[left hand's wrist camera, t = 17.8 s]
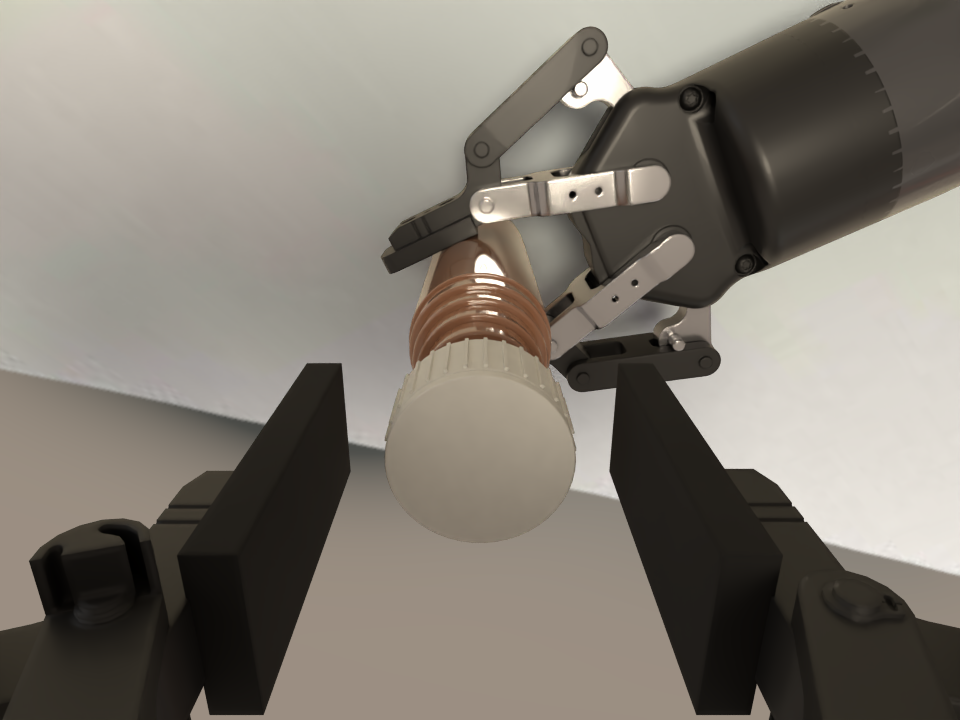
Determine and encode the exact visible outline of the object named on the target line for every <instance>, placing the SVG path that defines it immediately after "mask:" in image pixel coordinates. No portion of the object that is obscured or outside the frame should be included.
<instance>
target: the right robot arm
mask: <svg viewBox="0 0 960 720" xmlns="http://www.w3.org/2000/svg"><path fill="white" fill-rule="evenodd" d="M607 50H608V41H607V38H606V36H605V34H604V33H603V32H602V31H601V30H600V29H598V28H596V27H586V28H583V29H581V30H580V31H578V32H577V33H576V34H575V35H573V36H572V37H571V38H570V39H568V40H567V41H566V42H565V43H564V44H563V45H562V46H561V47H560V48H559V49H558V50H557V51H556V52H555V53H554V54H553V55H552V56H551V57H550V58H549V59H548V60H547V61H546V62H545V63H544V64H543V65H541V66H540V67H539V68H538V69H537V70H536V71H535V72H534V73H533V74H532V75H531V76H530V77H529V78H528V79H527V80H526V81H525V82H524V83H523V84H522V85H521V86H520V87H519V88H518V89H517V90H516V91H515V92H513V93H512V94H511V95H510V96H509V97H508V98H507V99H506V100H505V101H504V102H503V103H502V104H501V105H500V106H499V107H498V108H497V109H496V110H495V111H494V112H493V113H492V114H491V115H490V116H489V117H488V118H487V119H486V120H484V121H483V122H482V123H481V124H480V125H479V126H478V127H477V128H476V129H475V130H474V131H473V132H472V133H471V134H470V135H469V137H468V138H467V140H466V143H465V147H464V152H465V159H466V170H467V184H466V186H465V188H464V189H463V191H462V192H461V193H459V194H458V195H456V196H454V197H452V198H450V199H448V200H446V201H444V202H442V203H440V204H438V205H435V206H433V207H431V208H429V209H427V210H425V211H423V212H421V213H419V214H417V215H415V216H413V217H411V218H409V219H407V220H404V221H402V222H401V224H400V225H399V226H398V227H397V228H396V229H395V230H394V231H393V233H392V234H391V236H390V237H389V238H388V239H389V241H390V242H391V244H392V246H391V247H389V248H388V249H386V250H385V252H384V253H383V255H382V256H381V259H382V261H383V262H384V264H385V266H386V268H387V270H388V272H389V274H392V273H395V272H398V271H400V270H402V269H404V268H406V267H408V266H411V265H413V264H415V263H417V262H419V261H421V260H423V259H425V258H428V257H430V256H432V255H434V254H436V253H438V252H440V251H442V250H444V249H447V248H449V247H451V246H452V245H454V244H456V243H459V242H461V241H464V240H466V239H468V238H470V237H472V236H474V235H476V234H478V226H480V225H482V224H484V223H490V222H497V221H504V220H510V219H517V218H524V217H531V216H553V215H560V214H568V217H569V219H570V220H571V222H572V223H573V224H574V225H575V227H576V228H577V229H578V231H579V232H580V233H581V235H582V238H583V246H584V254H585V257H586V260H587V262H588V265H589V267H588V268H587V269H586V270H585V271H584V272H582V273H581V274H580V275H579V276H578V277H576V278H575V279H574V280H573V281H572V282H571V283H570V285H569V286H568V288H567V290H566V291H565V292H564V293H563V294H561V295H560V296H559V297H558V298H557V299H555V300H554V301H553V302H552V303H551V304H549V305H548V306H547V307H546V308H545V311H546V314H547V317H548V320H549V325H550V329H551V358H550V363H549V364H551V365H553V366H554V367H555V368H556V369H557V370H558V371H559V372H560V373H561V374H562V375H563V376H564V377H565V378H566V379H567V380H568V383H569V385H570V387H571V388H572V389H574V390H575V391H578V392H587V391H595V390H603V389H610V388H616V387H617V375H618V363H653V364H654V366H655V367H656V369H657V370H658V372H659V373H660V375H661V376H662V378H663V379H664V380H665V381H672V380H679V379H687V378H694V377H702V376H708V375H711V374H713V373H714V372H715V371H716V370H717V369H718V368H719V366H720V362H721V358H720V355H719V353H718V352H717V351H716V350H715V349H714V347H713V346H712V344H711V306H710V305H712V304H714V303H715V302H717V301H718V300H719V299H720V298H721V297H722V296H723V295H724V294H725V292H726V291H727V290H728V289H729V288H730V287H731V286H732V285H733V284H735V283H736V282H737V281H739V280H740V279H742V278H744V277H746V276H749V275H752V274H755V273H758V272H761V271H764V270H767V269H769V268H772V267H774V266H776V265H779V264H781V263H783V262H786V261H788V260H790V259H793V258H795V257H797V256H800V255H802V254H804V253H807V252H809V251H811V250H814V249H816V248H818V247H821V246H823V245H825V244H828V243H830V242H832V241H835V240H837V239H839V238H841V237H844V236H846V235H848V234H851V233H853V232H855V231H858V230H860V229H862V228H865V227H867V226H869V225H872V224H874V223H876V222H879V221H881V220H883V219H885V218H888V217H890V216H892V215H895V214H897V213H899V212H902V211H904V210H906V209H909V208H911V207H913V206H916V205H918V204H920V203H923V202H925V201H927V200H930V199H932V198H934V197H936V196H939V195H941V194H943V193H945V192H947V191H949V190H952V189H954V188H956V187H958V186H960V0H846V1H844V2H843V1H841V2H838V3H833V4H830V5H828V6H826V7H824V8H822V9H820V10H819V11H817V12H816V13H814V14H813V15H811V17H810V18H809V19H807V20H805V21H802V22H800V23H798V24H796V25H794V26H792V27H790V28H788V29H786V30H784V31H782V32H780V33H778V34H776V35H774V36H772V37H770V38H768V39H766V40H763V41H761V42H759V43H757V44H755V45H753V46H751V47H749V48H747V49H745V50H743V51H741V52H739V53H737V54H735V55H733V56H731V57H729V58H727V59H724V60H722V61H720V62H718V63H716V64H714V65H712V66H710V67H708V68H706V69H704V70H702V71H700V72H698V73H696V74H694V75H692V76H690V77H687V78H685V79H683V80H681V81H679V82H677V83H675V84H672V85H670V86H667V87H663V88H653V87H640V88H633V87H632V85H631V84H630V83H629V81H628V80H627V79H626V77H625V76H624V75H623V73H622V72H621V71H620V70H619V68H618V67H617V66H616V64H615V63H614V62H613V60H612V59H611V58H610V56H609V55H608V54H607ZM559 101H561V103H562V104H563V105H565V106H566V107H568V108H583V107H585V106H586V105H588V104H589V103H591V102H593V101H601V102H603V103H604V104H606V105H607V106H608V108H607V110H606V112H605V114H604V115H603V117H602V119H601V120H600V122H599V124H598V126H597V127H596V129H595V131H594V133H593V134H592V136H591V138H590V139H589V141H588V143H587V145H586V146H585V148H584V150H583V152H582V153H581V155H580V157H579V158H578V160H577V162H576V164H575V165H574V166H573V167H566V168H560V169H553V170H547V171H540V172H535V173H531V174H528V175H523V176H516V177H510V178H503V179H501V171H500V158H499V157H501V156H502V155H503V154H504V153H505V152H506V151H507V150H508V149H509V148H510V147H511V146H512V145H513V144H514V143H515V142H517V141H518V140H519V139H520V138H521V137H522V136H523V135H524V134H525V133H526V132H527V131H528V130H529V129H530V128H531V127H532V126H534V125H535V124H536V123H537V122H538V121H539V120H540V119H541V118H542V117H543V116H544V115H545V114H546V113H547V112H548V111H550V110H551V109H552V108H553V107H554V106H555V105H556V104H557V103H558V102H559ZM613 296H616V297H615V298H612V297H613ZM639 299H642V300H647V301H653V302H658V303H664V304H669V305H674V306H680V307H679V309H678V311H677V312H676V314H674V315H673V316H672V317H670V318H666V319H663V320H661V321H660V322H658V323H657V324H656V326H655V328H654V330H653V332H652V333H645V334H637V335H630V336H622V337H615V338H608V339H600V340H593V341H585V342H579V341H581V340H582V339H583V338H584V337H586V336H587V335H588V334H589V333H591V332H592V331H593V330H596V329H601V328H603V327H605V326H607V325H608V324H609V323H610V322H612V321H613V320H614V319H615V318H617V317H618V316H619V315H620V314H622V313H623V312H624V311H625V310H627V309H628V308H629V307H630V306H632V305H633V304H634V303H635V302H637V301H638V300H639Z"/></svg>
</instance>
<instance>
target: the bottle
mask: <svg viewBox="0 0 960 720" xmlns="http://www.w3.org/2000/svg"><path fill="white" fill-rule="evenodd" d="M484 337H487V339H488V340H495V341H501V342H502V340H505V341H506V343H508V344H511V345H513V346H516V347H518V348H519V347H520V346H521V347H523V349H524V351H526V352H527V353H529V354H531V355H532V356H533V357H535V356H537V357H538V358H539V362H540V363H541V364H542V365H543V366H544V367H545V368H546V369H547V368H548V367H549V363H550V358H551V329H550V325H549V320H548V317H547V314H546V311H545V308H544V305H543V302H542V299H541V296H540V292H539V289H538V286H537V283H536V280H535V277H534V274H533V271H532V268H531V264H530V261H529V258H528V255H527V252H526V249H525V246H524V243H523V240H522V237H521V235H520V233H519V231H518V229H517V228H516V226H515V225H514V224H513V223H512V222H511V221H510V220H504V221H497V222H490V223H484V224H482V225H480V226H478V234H476V235H474V236H472V237H470V238H468V239H466V240H464V241H461V242H459V243H456V244H454V245H452V246H451V247H449V248H447V249H444V250H442V251H440V252H438V253H436V254H434V255H433V257H432V260H431V263H430V266H429V269H428V272H427V275H426V278H425V282H424V285H423V288H422V291H421V294H420V297H419V300H418V303H417V306H416V309H415V313H414V316H413V319H412V322H411V326H410V333H409V354H410V361H411V365H412V369H414V368H415V366H416V362H418V361H420V362H421V361H422V360H423V359H424V358H426V357H427V356H429V355H430V351H432V350H434V351H436V350H438V349H440V348H442V347H444V346H446V345H447V343H449V342H450V343H451V344H452V343H456V342H460V341H465V338H469V340H474V339H484Z"/></svg>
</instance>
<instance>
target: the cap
mask: <svg viewBox="0 0 960 720" xmlns="http://www.w3.org/2000/svg"><path fill="white" fill-rule="evenodd" d="M572 434H574V429H573V426H572V422H571V419H570V415H569V412H568V408H567V405H566V402H565V398H564V397H563V395H562V391H561V388H560V384H559V382H557V383H556V382H555V381H554V379H553V377H552V373H551V370H550V369H549V368H547V369H546V368H545V367H544V366H543V365H542V364H541V363H540V362H539V358H538V357H537V356H535V357H533V356H532V355H531V354H529V353H527V352H526V351H524V349H523V347H521V346H520V347H519V348H518V347H516V346H513V345H511V344H508V343H506V341H505V340H502V342H501V341H495V340H488V339H487V337H484V339H474V340H469V338H465V341H460V342H456V343H452V344H451V343H450V342H449V343H447V345H446V346H444V347H442V348H440V349H438V350H436V351H434V350H432V351H430V355H429V356H427V357H426V358H424V359H423V360H422V361H421V362H420V361H418V362H416V366H415V368H414V369H413V371H412V372H411V373H410V375H409V374H406V376H405V379H404V383H403V387H402V389H400V388H399V390H398V393H397V396H396V400H395V403H394V407H393V410H392V413H391V417H390V420H389V426H388V429H387V433H386V436H385V441H387V442H386V447H385V470H386V475H387V479H388V482H389V485H390V488H391V490H392V492H393V494H394V496H395V498H396V499H397V501H398V502H399V504H400V505H401V506H402V508H403V509H404V510H405V511H406V512H407V513H408V514H409V515H410V516H411V517H412V518H413V519H414V520H415V521H417V522H418V523H419V524H421V525H422V526H424V527H425V528H427V529H428V530H430V531H432V532H434V533H436V534H439V535H441V536H444V537H447V538H450V539H454V540H458V541H463V542H471V543H488V542H497V541H502V540H507V539H510V538H513V537H517V536H519V535H521V534H524V533H526V532H528V531H530V530H532V529H533V528H535V527H537V526H538V525H540V524H541V523H542V522H544V521H545V520H546V519H547V518H549V517H550V516H551V515H552V513H554V512H555V511H556V509H557V508H558V507H559V505H560V504H561V503H562V501H563V500H564V498H565V496H566V495H567V493H568V491H569V488H570V486H571V483H572V481H573V476H574V472H575V463H576V454H575V451H576V446H575V442H574V439H573V435H572Z"/></svg>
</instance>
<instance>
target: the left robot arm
mask: <svg viewBox="0 0 960 720" xmlns="http://www.w3.org/2000/svg"><path fill="white" fill-rule="evenodd" d="M349 474H350V459H349V447H348V435H347V423H346V411H345V399H344V387H343V375H342V363H307V364H306V366H305V367H304V369H303V370H302V372H301V373H300V375H299V376H298V378H297V379H296V380H295V382H294V383H293V385H292V386H291V388H290V389H289V391H288V392H287V394H286V395H285V397H284V398H283V400H282V401H281V403H280V404H279V406H278V407H277V408H276V410H275V411H274V413H273V414H272V416H271V417H270V419H269V420H268V422H267V423H266V425H265V426H264V428H263V429H262V431H261V432H260V434H259V435H258V436H257V438H256V439H255V441H254V442H253V444H252V445H251V447H250V448H249V450H248V451H247V453H246V454H245V456H244V457H243V459H242V460H241V462H240V463H239V464H238V466H237V467H236V469H235V470H234V471H206V472H205V473H203V474H202V475H200V476H199V477H197V478H195V479H194V480H193V481H191V482H189V483H188V484H186V485H185V486H183V487H182V489H181V490H180V491H179V492H178V494H177V495H176V496H175V498H174V499H173V500H172V501H171V503H170V504H169V508H168V509H165V510H164V512H163V513H162V514H161V515H160V517H159V518H158V519H157V523H156V524H153V526H152V527H151V528H150V529H148V528H147V527H146V526H144V525H143V524H142V523H140V522H138V521H133V520H128V519H108V520H100V521H96V522H92V523H88V524H84V525H80V526H78V527H75V528H73V529H71V530H69V531H66V532H64V533H62V534H59V535H58V536H56V537H55V538H53V539H52V540H50V541H49V542H47V543H46V544H44V545H43V546H42V547H40V548H39V549H38V551H37V552H36V553H35V554H34V556H33V557H32V558H31V559H30V560H29V562H30V566H31V569H32V572H33V575H34V579H35V582H36V585H37V588H38V592H39V595H40V598H41V601H42V605H43V608H44V611H45V614H46V616H45V619H44V621H42V622H38V623H34V624H31V625H26V626H22V627H17V628H12V629H8V630H3V631H0V720H191V717H190V713H191V711H192V709H193V706H194V705H195V702H196V700H197V698H198V696H199V694H200V692H201V690H202V688H203V686H204V690H205V695H206V699H207V704H208V709H209V714H210V715H264V712H265V709H266V707H267V704H268V701H269V698H270V695H271V693H272V690H273V687H274V684H275V681H276V679H277V676H278V673H279V670H280V667H281V665H282V662H283V659H284V656H285V653H286V651H287V648H288V645H289V642H290V639H291V637H292V634H293V631H294V628H295V625H296V623H297V620H298V617H299V614H300V611H301V609H302V606H303V603H304V600H305V597H306V595H307V592H308V589H309V586H310V583H311V581H312V578H313V575H314V572H315V569H316V567H317V564H318V561H319V558H320V555H321V553H322V550H323V547H324V544H325V541H326V538H327V536H328V533H329V530H330V527H331V524H332V522H333V519H334V516H335V513H336V511H337V508H338V505H339V502H340V499H341V497H342V494H343V491H344V488H345V485H346V483H347V479H348V477H349ZM610 474H611V477H612V480H613V483H614V485H615V488H616V491H617V494H618V497H619V499H620V502H621V505H622V508H623V510H624V513H625V516H626V519H627V522H628V525H629V527H630V530H631V533H632V536H633V538H634V541H635V544H636V547H637V550H638V553H639V555H640V558H641V561H642V564H643V566H644V569H645V572H646V575H647V578H648V581H649V583H650V586H651V589H652V592H653V595H654V597H655V600H656V603H657V606H658V608H659V611H660V614H661V617H662V620H663V623H664V625H665V628H666V631H667V634H668V637H669V639H670V642H671V645H672V648H673V651H674V653H675V656H676V659H677V662H678V665H679V667H680V670H681V673H682V676H683V679H684V681H685V684H686V687H687V690H688V693H689V695H690V698H691V701H692V704H693V707H694V709H695V712H696V715H750V714H751V709H752V704H753V700H754V695H755V690H756V685H758V687H759V689H760V691H761V693H762V695H763V697H764V699H765V701H766V703H767V705H768V707H769V710H770V712H771V713H770V717H769V720H960V628H956V627H951V626H947V625H942V624H937V623H933V622H928V621H925V620H921V619H918V618H915V615H914V614H913V612H912V611H911V609H910V608H909V606H908V605H907V604H906V602H905V601H904V600H903V599H902V598H901V597H899V596H898V595H897V594H896V593H894V592H893V591H892V590H891V589H889V588H888V587H886V586H884V585H882V584H880V583H878V582H876V581H874V580H872V579H870V578H868V577H866V576H863V575H859V574H856V573H852V572H849V571H845V569H844V568H843V567H842V566H841V564H840V563H839V562H838V561H837V559H836V558H835V557H834V556H833V554H832V553H831V552H830V551H829V549H828V548H827V547H826V545H825V544H824V543H823V542H822V540H821V539H820V538H819V537H818V535H817V534H816V533H815V532H814V530H813V529H812V528H811V526H810V525H809V524H808V523H807V522H804V518H803V516H802V515H801V514H800V513H799V511H798V510H797V509H796V508H795V507H792V502H791V501H790V500H789V499H788V497H787V496H786V495H785V494H784V492H783V491H782V490H781V489H780V487H779V486H778V485H777V484H776V483H774V482H773V481H771V480H770V479H768V478H766V477H765V476H763V475H762V474H760V473H759V472H757V471H756V470H754V469H724V467H723V466H722V464H721V463H720V462H719V460H718V459H717V457H716V456H715V454H714V453H713V451H712V450H711V448H710V447H709V445H708V444H707V442H706V441H705V439H704V438H703V436H702V435H701V434H700V432H699V431H698V429H697V428H696V426H695V425H694V423H693V422H692V420H691V419H690V417H689V416H688V414H687V413H686V411H685V410H684V408H683V407H682V406H681V404H680V403H679V401H678V400H677V398H676V397H675V395H674V394H673V392H672V391H671V389H670V388H669V386H668V385H667V383H666V382H665V380H664V379H663V378H662V376H661V375H660V373H659V372H658V370H657V369H656V367H655V366H654V364H653V363H618V375H617V387H616V399H615V411H614V423H613V435H612V447H611V459H610Z"/></svg>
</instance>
